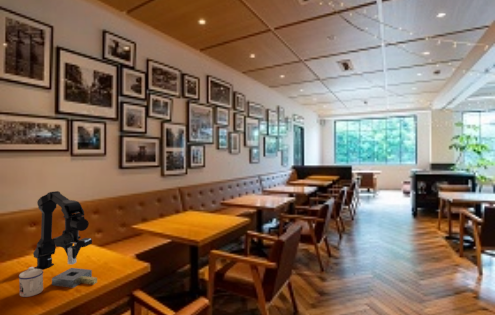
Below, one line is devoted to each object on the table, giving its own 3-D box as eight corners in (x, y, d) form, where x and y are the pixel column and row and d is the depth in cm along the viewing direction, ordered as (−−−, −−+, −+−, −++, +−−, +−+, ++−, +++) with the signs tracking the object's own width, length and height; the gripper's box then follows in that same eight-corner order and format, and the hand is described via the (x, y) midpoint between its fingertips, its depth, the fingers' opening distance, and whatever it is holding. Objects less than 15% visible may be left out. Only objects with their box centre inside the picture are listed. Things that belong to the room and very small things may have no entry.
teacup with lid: (19, 291, 133) (18, 266, 133) (43, 285, 139) (43, 261, 138) (18, 302, 123) (17, 276, 123) (44, 296, 129) (43, 270, 128)
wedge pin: (71, 261, 145) (71, 246, 145) (76, 262, 144) (76, 246, 144) (67, 264, 142) (67, 248, 142) (72, 264, 142) (72, 248, 142)
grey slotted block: (51, 285, 139) (51, 278, 139) (71, 274, 151) (71, 267, 151) (86, 289, 135) (86, 282, 135) (103, 277, 147) (103, 271, 147)
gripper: (41, 230, 137) (41, 263, 137) (75, 233, 133) (75, 266, 134) (60, 224, 148) (61, 254, 148) (92, 226, 144) (93, 257, 145)
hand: (72, 258), depth 143 cm, fingers closed on wedge pin, 3 cm apart
